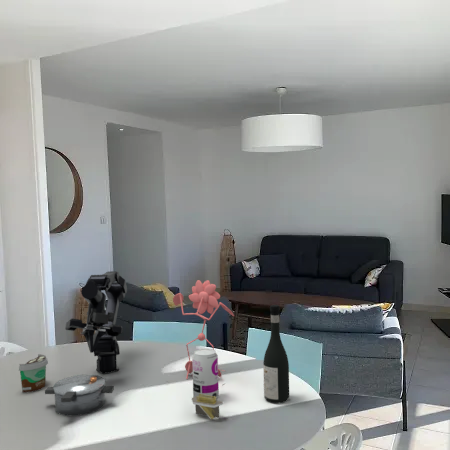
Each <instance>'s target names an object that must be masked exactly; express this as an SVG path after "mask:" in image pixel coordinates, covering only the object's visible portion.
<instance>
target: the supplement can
mask: <svg viewBox="0 0 450 450" xmlns="http://www.w3.org/2000/svg"><path fill="white" fill-rule="evenodd" d="M191 359H192V360H191V361H192V365H193V372H192V393H193V397H198V396H200V397H201V395H199V394H202V395H204V396H203V397H205V395H208V397H207V399H208V398H209V396H214V397H216V400H217V399H218V398H219V396H220V395H219V394H220V391H219V389H220V388H219V376H218V369H219V357H218V354H217V352H216V349H214V350H213V348H212V349H211V348H201V349H197V350H195V351H193V355H192V356H191ZM193 397H192V398H193ZM211 399H213V397H211Z"/></svg>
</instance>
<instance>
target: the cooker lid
mask: <svg viewBox="0 0 450 450" xmlns="http://www.w3.org/2000/svg"><path fill="white" fill-rule="evenodd" d="M104 386H106V380H105V377H103V376H101V375H98V374H77V375H73V376H68V377H64V378H62V379H59V380H58V381H55V383H54V384H53V386H52V387H53V390H54V392H55V393H57V394H59V395H64V396H63V397H62V398H61V402H71V401H72V400H73V399H74V398H75V397H76V396H78V395H85V394H89V393H93V392H95V391H98V390H100V389H101V388H103V387H104Z"/></svg>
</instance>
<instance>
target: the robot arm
mask: <svg viewBox="0 0 450 450" xmlns="http://www.w3.org/2000/svg"><path fill="white" fill-rule="evenodd" d="M102 291H104V292H105V293H104V292H102ZM127 292H128V286H127V282H126V279H125V278H123V277H122V276H121V275H120V272H119V271H115V270H114V271H113V270H112V271H111V270H110V271H106V272H104V273H102V274H91V275H89V277H88V279H87V281H86V283H85V285H84V286H83V287H82V289H81V291H80V295H81V296H82V297H83V299H84V300H85V301H86V302H87V303H88V307H87V312H86V315H87V316H86V323H85V322H84V323H83V320H82V319H77V318H71V319H69V320H68V321H67V322H66V323H65V328H64V330H66V331H71V332H74V331H76V330H77V329H82V332H80V333H81V335H83V336H84V338H85V341H86V343H87V347H88V349H89V352H90V354H92V353H93V356H94V357H97V359H96V371H97V372H99V373H101V374H103V375H105V374H110V373H113V372H118V371H119V370H120V369H119V368H118V366H117V356H119V355H120V352H121V351H120V345H119V343H118V340H117V337H119V335H121V334H123V326H122V325H121V324H117V319H118V318H117V317H118V310H119V307H120V303H121V302H122V301H123V300H124V299H125V297H126V294H127ZM106 301H107V304H106ZM105 308H106V309H105Z"/></svg>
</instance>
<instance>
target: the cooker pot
mask: <svg viewBox="0 0 450 450" xmlns="http://www.w3.org/2000/svg"><path fill="white" fill-rule="evenodd" d="M114 391H115V385H104V387H103V388H101V389H100V390H98V391H95V392H93V393H89V394H85V395H78V396H76V397H75V398H74V399H73V400H72V401H71V402H61V398H62V397H63V396H64V395H59V394H57V393H55V392H54V390H53V386H48V387H47V388H46V389H45V390H44V395H54V408H55V409H54V410H55V412H56V413H57V412H58V414H59V413H60V414H59V415H63V416H67V417H68V416H72V417H74V416H83V415H88V414H91V413H94V412H97V411H99V410H100V409H102V408H103V407H104V406H105V404H106V395H105V394H112V393H113V392H114Z"/></svg>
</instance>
